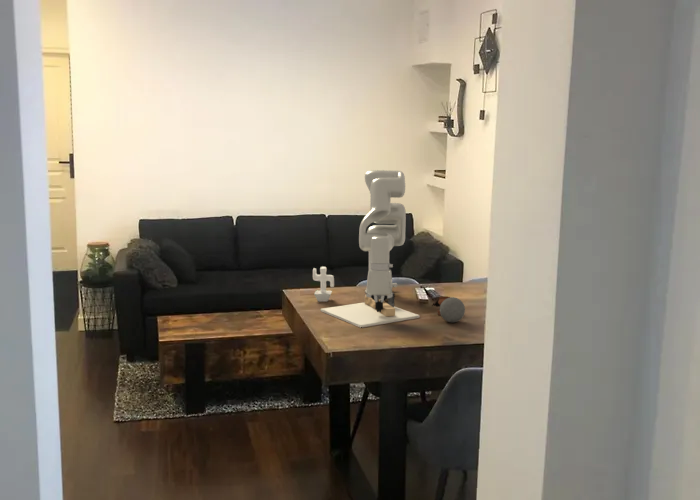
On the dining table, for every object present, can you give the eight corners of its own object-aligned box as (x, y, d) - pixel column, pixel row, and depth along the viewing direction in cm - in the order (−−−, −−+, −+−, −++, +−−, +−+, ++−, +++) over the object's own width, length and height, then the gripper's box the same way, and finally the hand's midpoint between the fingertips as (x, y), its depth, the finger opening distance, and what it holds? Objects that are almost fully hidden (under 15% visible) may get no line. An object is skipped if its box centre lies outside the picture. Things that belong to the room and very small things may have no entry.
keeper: (390, 305, 324) (390, 291, 323) (394, 307, 321) (394, 293, 320) (373, 308, 319) (373, 294, 318) (377, 309, 316) (377, 295, 315)
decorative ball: (448, 317, 309) (448, 293, 307) (469, 321, 303) (470, 297, 301) (434, 322, 301) (435, 297, 300) (456, 326, 295) (456, 301, 293)
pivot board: (377, 302, 333) (377, 300, 333) (419, 317, 308) (419, 315, 308) (320, 311, 317) (320, 308, 317) (360, 327, 292) (360, 325, 292)
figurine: (332, 302, 332) (333, 269, 330) (311, 301, 333) (311, 268, 331) (334, 298, 339) (334, 265, 337) (313, 298, 340) (313, 265, 338)
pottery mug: (430, 316, 312) (428, 297, 315) (437, 321, 320) (435, 302, 323) (458, 311, 308) (456, 292, 311) (464, 317, 316) (462, 298, 319)
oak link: (362, 302, 328) (362, 290, 327) (374, 301, 330) (375, 289, 329) (384, 316, 304) (384, 304, 303) (396, 315, 306) (397, 303, 305)
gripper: (398, 265, 306) (398, 309, 309) (362, 264, 308) (361, 308, 311) (398, 268, 299) (397, 314, 302) (360, 267, 301) (359, 312, 304)
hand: (379, 311), depth 306 cm, fingers closed
